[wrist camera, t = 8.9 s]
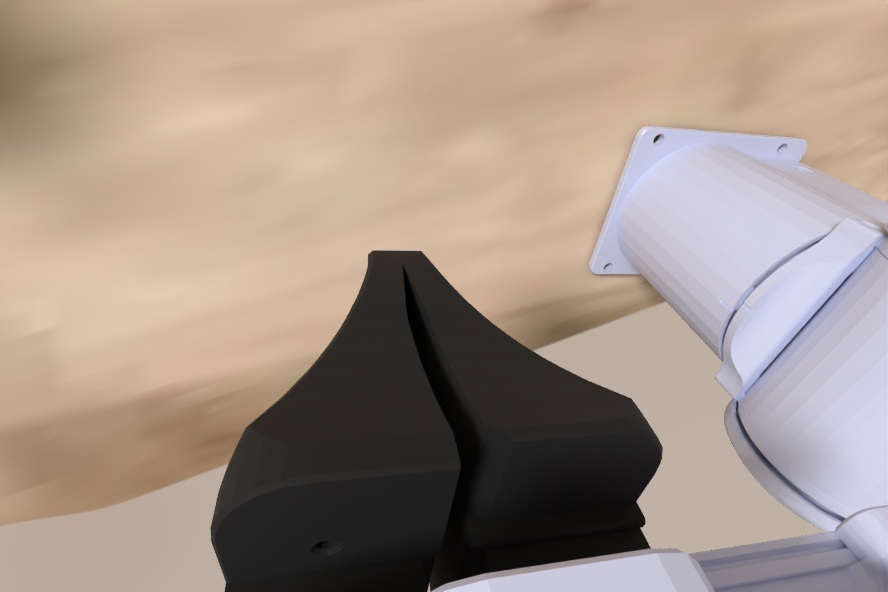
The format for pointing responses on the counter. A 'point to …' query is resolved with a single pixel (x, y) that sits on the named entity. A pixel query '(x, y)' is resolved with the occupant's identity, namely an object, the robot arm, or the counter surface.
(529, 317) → the counter surface
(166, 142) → the counter surface
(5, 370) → the counter surface
